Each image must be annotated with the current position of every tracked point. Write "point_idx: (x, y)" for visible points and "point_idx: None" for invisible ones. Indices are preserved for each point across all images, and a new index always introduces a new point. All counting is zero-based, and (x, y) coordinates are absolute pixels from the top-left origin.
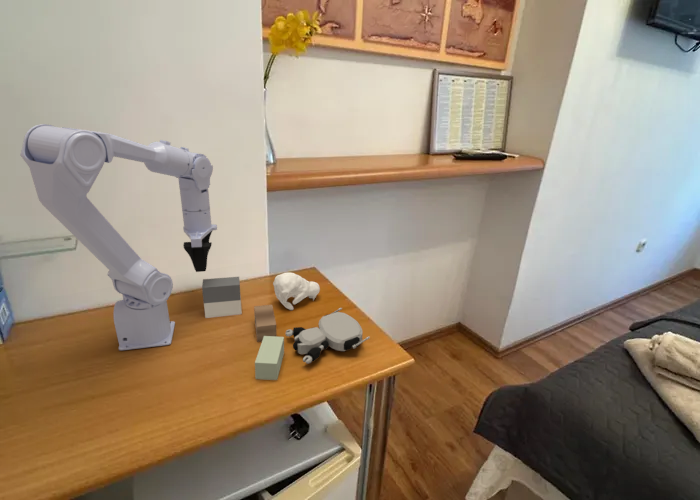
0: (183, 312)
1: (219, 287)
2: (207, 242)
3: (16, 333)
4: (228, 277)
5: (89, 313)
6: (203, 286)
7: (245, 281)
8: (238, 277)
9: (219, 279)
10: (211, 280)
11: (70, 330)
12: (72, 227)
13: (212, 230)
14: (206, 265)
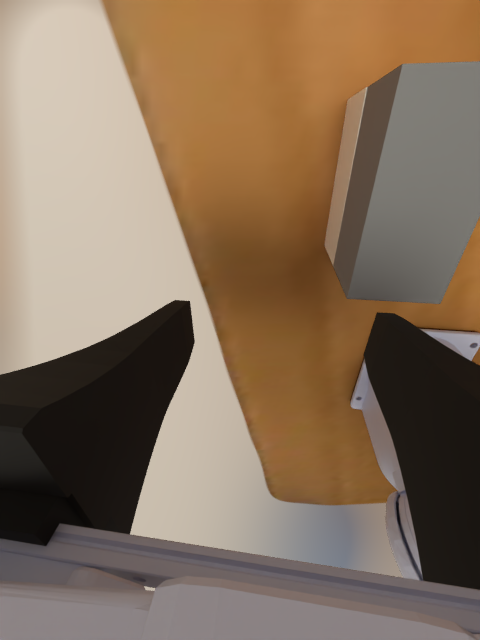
0: (323, 306)
1: (473, 217)
2: (143, 352)
3: (299, 501)
4: (380, 157)
5: (267, 448)
6: (429, 297)
7: (133, 68)
8: (414, 71)
9: (386, 217)
10: (378, 260)
11: (317, 463)
12: None
13: (41, 408)
14: (420, 329)
